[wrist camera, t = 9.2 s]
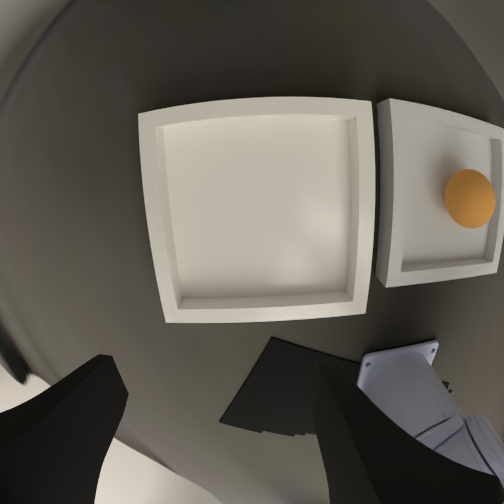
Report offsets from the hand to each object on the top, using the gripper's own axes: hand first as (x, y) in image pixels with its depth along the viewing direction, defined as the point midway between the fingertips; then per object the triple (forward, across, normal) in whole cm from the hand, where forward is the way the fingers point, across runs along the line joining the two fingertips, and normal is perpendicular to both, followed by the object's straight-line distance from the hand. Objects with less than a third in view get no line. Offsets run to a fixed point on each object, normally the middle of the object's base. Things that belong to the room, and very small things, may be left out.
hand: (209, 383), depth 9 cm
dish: (+10, -2, -4) cm, 11 cm away
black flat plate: (+11, -13, +18) cm, 25 cm away
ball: (+10, -16, -5) cm, 19 cm away
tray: (+10, -16, -5) cm, 20 cm away
